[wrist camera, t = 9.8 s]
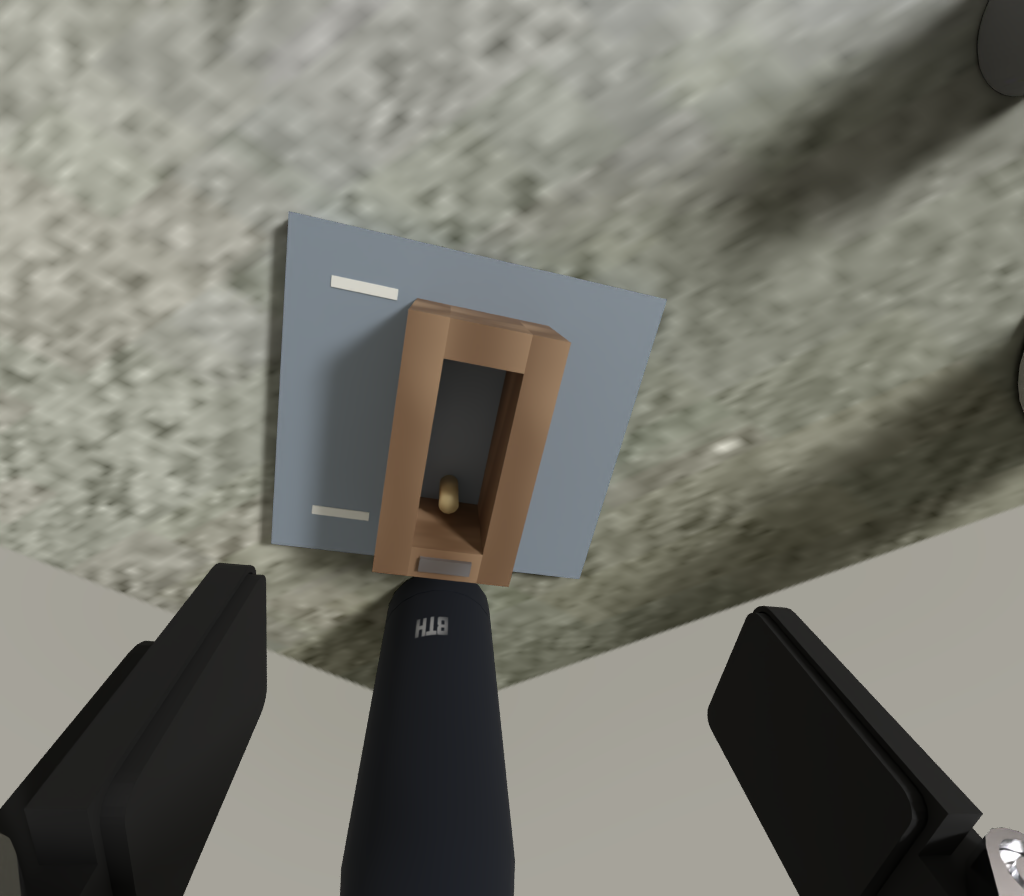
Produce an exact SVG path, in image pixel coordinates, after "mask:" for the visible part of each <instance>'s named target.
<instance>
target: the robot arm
mask: <svg viewBox="0 0 1024 896" xmlns="http://www.w3.org/2000/svg"><path fill="white" fill-rule="evenodd" d="M1018 389H1019V399H1020V403H1021V405H1022V408H1023V411H1024V352H1023V355H1022V359H1021V363H1020V368H1019V377H1018ZM266 653H267V650H266V578H265V576H264V575H256V570H255V567H254V566H251V565H239V564H226V563H218V564H216V565H215V566H214V567H213V568H212V569H211V570H210V571H209V573H208V574H207V575H206V576H205V578H204V579H203V580H202V582H201V583H200V584H199V585H198V587H197V588H196V589H195V591H194V592H193V593H192V594H191V596H190V597H189V598H188V600H187V601H186V602H185V603H184V605H183V606H182V607H181V608H180V610H179V611H178V612H177V614H176V615H175V616H174V617H173V619H172V620H171V621H170V623H169V624H168V625H167V626H166V628H165V629H164V630H163V632H162V633H161V634H160V635H159V637H158V638H157V639H156V641H143V642H141V643H139V644H137V645H136V646H135V647H134V648H133V649H132V650H131V651H130V652H129V653H128V654H127V656H126V657H125V658H124V659H123V660H122V662H121V663H120V664H119V665H118V667H117V668H116V669H115V670H114V671H113V673H112V674H111V675H110V676H109V678H108V679H107V680H106V681H105V682H104V683H103V685H102V686H101V687H100V688H99V690H98V691H97V692H96V693H95V694H94V696H93V697H92V698H91V699H90V701H89V702H88V703H87V704H86V705H85V707H84V708H83V709H82V710H81V711H80V713H79V714H78V715H77V716H76V718H75V719H74V720H73V721H72V722H71V724H70V725H69V726H68V727H67V728H66V730H65V731H64V732H63V733H62V735H61V736H60V737H59V738H58V739H57V741H56V742H55V743H54V744H53V745H52V747H51V748H50V749H49V750H48V752H47V753H46V754H45V755H44V757H43V758H42V759H41V760H40V761H39V762H38V764H37V765H36V766H35V767H34V769H33V770H32V771H31V772H30V773H29V775H28V776H27V777H26V778H25V780H24V781H23V782H22V783H21V784H20V786H19V787H18V788H17V789H16V790H15V792H14V793H13V794H12V795H11V797H10V798H9V799H8V800H7V801H6V802H5V804H4V805H3V806H2V807H1V809H0V896H183V894H184V892H185V890H186V887H187V885H188V883H189V880H190V878H191V876H192V873H193V871H194V869H195V866H196V864H197V862H198V859H199V857H200V855H201V852H202V850H203V848H204V845H205V843H206V841H207V838H208V836H209V834H210V831H211V829H212V827H213V824H214V822H215V820H216V817H217V815H218V812H219V810H220V808H221V805H222V803H223V801H224V799H225V796H226V794H227V791H228V789H229V787H230V784H231V782H232V780H233V777H234V775H235V773H236V770H237V768H238V766H239V764H240V761H241V759H242V757H243V754H244V752H245V750H246V747H247V745H248V743H249V740H250V738H251V736H252V733H253V731H254V729H255V726H256V724H257V722H258V719H259V717H260V715H261V712H262V709H263V706H264V702H265V698H266V692H267V667H266V666H267V658H266V657H267V655H266ZM708 722H709V725H710V728H711V730H712V732H713V734H714V736H715V738H716V739H717V741H718V743H719V745H720V747H721V749H722V751H723V753H724V755H725V756H726V758H727V760H728V762H729V764H730V766H731V768H732V770H733V771H734V773H735V775H736V777H737V779H738V781H739V783H740V784H741V787H742V788H743V790H744V792H745V794H746V796H747V798H748V800H749V801H750V803H751V805H752V807H753V809H754V811H755V813H756V815H757V817H758V818H759V820H760V822H761V824H762V826H763V827H764V830H765V832H766V833H767V835H768V837H769V839H770V841H771V843H772V845H773V847H774V848H775V850H776V852H777V854H778V856H779V858H780V860H781V861H782V864H783V865H784V867H785V869H786V871H787V873H788V875H789V877H790V878H791V880H792V882H793V884H794V886H795V888H796V890H797V892H798V894H799V896H1024V834H1023V833H1021V832H1019V831H1015V830H1012V829H1007V828H1003V827H1001V828H992V829H991V830H990V831H989V832H988V833H987V834H986V835H985V837H984V838H983V839H982V838H981V837H980V836H979V835H978V834H977V833H976V831H975V830H974V829H973V828H972V827H973V826H974V825H975V823H976V822H977V821H978V820H979V818H980V817H981V815H982V814H983V813H982V812H981V811H980V810H979V809H978V808H977V807H976V806H975V805H974V804H973V803H972V802H971V801H970V799H969V798H968V797H967V796H966V795H965V794H964V793H963V792H962V791H961V790H960V789H959V788H958V787H957V786H956V785H955V784H954V782H953V781H952V780H951V779H950V778H949V777H948V776H947V775H946V774H945V773H944V772H943V771H942V770H941V768H940V767H938V765H937V764H935V762H934V761H933V760H932V759H931V758H930V757H929V756H928V755H927V754H926V752H925V751H924V750H923V749H922V748H921V747H920V746H919V745H918V744H917V743H916V742H915V741H914V740H913V739H912V737H911V736H909V734H908V733H907V732H906V731H905V730H904V729H903V728H902V727H901V726H900V725H899V724H898V723H897V721H896V720H895V719H894V718H893V717H892V716H891V715H890V714H889V713H888V712H887V711H886V710H885V709H884V708H883V707H882V706H881V705H880V703H879V702H878V701H877V700H876V699H875V698H874V697H873V696H872V695H871V694H870V693H869V692H868V691H867V689H866V688H865V687H864V686H863V685H862V684H861V683H860V682H859V681H858V680H857V679H856V678H855V677H854V676H853V674H852V673H851V672H850V671H849V670H848V669H847V668H846V667H845V666H844V665H843V664H842V663H841V662H840V661H839V660H838V658H837V657H836V656H835V655H834V654H833V653H832V652H831V651H830V650H829V649H828V648H827V647H826V646H825V645H824V644H823V642H821V640H820V639H819V638H818V637H817V636H816V635H815V634H814V633H813V632H812V631H811V630H810V629H809V628H808V626H807V625H806V624H805V623H804V622H803V621H802V620H801V619H800V618H799V617H798V616H797V615H796V614H795V613H794V612H793V611H792V610H791V609H788V608H782V607H769V606H759V607H757V608H756V609H755V610H754V611H753V613H750V614H749V615H748V616H747V618H746V620H745V622H744V624H743V627H742V629H741V631H740V634H739V636H738V639H737V641H736V643H735V646H734V648H733V650H732V653H731V655H730V657H729V660H728V662H727V664H726V667H725V669H724V672H723V674H722V676H721V679H720V681H719V683H718V686H717V688H716V690H715V693H714V695H713V698H712V700H711V703H710V705H709V707H708Z"/></svg>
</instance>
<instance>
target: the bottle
mask: <svg viewBox="0 0 1024 896" xmlns="http://www.w3.org/2000/svg"><path fill="white" fill-rule="evenodd" d="M977 46H978V57H979V66H980V69H981V72H982V74H983V76H984V78H985V80H986V81H987V83H988V84H989V85H990V86H991V87H992V88H993V89H994V90H996V91H998V92H1000V93H1002V94H1004V95H1008V96H1023V95H1024V0H989V2H988V4H987V7H986V9H985V12H984V14H983V18H982V22H981V26H980V30H979V37H978V45H977Z"/></svg>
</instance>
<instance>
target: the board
mask: <svg viewBox="0 0 1024 896" xmlns="http://www.w3.org/2000/svg"><path fill="white" fill-rule="evenodd" d="M417 298H420V299H424V300H429V301H434V302H438V303H443V304H448V305H453V306H457V307H462V308H467V309H471V310H476V311H481V312H486V313H490V314H495V315H500V316H504V317H509V318H514V319H519V320H523V321H528V322H533V323H537V324H542V325H547V326H549V327H551V328H552V329H553V330H555V331H556V332H557V333H559V334H560V335H561V336H563V337H564V338H565V339H567V340H568V341H569V342H571V346H570V349H569V353H568V357H567V361H566V365H565V369H564V373H563V377H562V381H561V385H560V388H559V392H558V396H557V400H556V404H555V408H554V412H553V416H552V420H551V424H550V427H549V431H548V435H547V439H546V443H545V447H544V451H543V455H542V459H541V463H540V466H539V470H538V474H537V478H536V482H535V486H534V490H533V494H532V498H531V502H530V505H529V509H528V513H527V517H526V521H525V525H524V529H523V533H522V537H521V541H520V544H519V548H518V552H517V556H516V560H515V564H514V568H513V572H522V573H531V574H539V575H548V576H557V577H566V578H574V579H579V578H580V575H581V572H582V569H583V565H584V562H585V559H586V556H587V553H588V549H589V546H590V543H591V540H592V537H593V534H594V530H595V527H596V524H597V521H598V518H599V514H600V511H601V508H602V505H603V502H604V498H605V495H606V492H607V489H608V486H609V483H610V479H611V476H612V473H613V470H614V467H615V463H616V460H617V457H618V454H619V451H620V448H621V444H622V441H623V438H624V435H625V432H626V428H627V425H628V422H629V419H630V416H631V412H632V409H633V406H634V403H635V400H636V397H637V393H638V390H639V387H640V384H641V381H642V377H643V374H644V371H645V368H646V365H647V362H648V358H649V355H650V352H651V349H652V346H653V342H654V339H655V336H656V333H657V330H658V327H659V323H660V320H661V317H662V314H663V311H664V307H665V304H666V301H667V299H663V298H659V297H655V296H650V295H646V294H642V293H638V292H633V291H629V290H625V289H620V288H616V287H612V286H608V285H603V284H599V283H595V282H590V281H586V280H582V279H578V278H573V277H569V276H565V275H560V274H556V273H552V272H548V271H543V270H539V269H535V268H530V267H526V266H522V265H518V264H513V263H509V262H505V261H500V260H496V259H492V258H488V257H483V256H479V255H475V254H470V253H466V252H462V251H458V250H453V249H449V248H445V247H440V246H436V245H432V244H428V243H423V242H419V241H415V240H410V239H406V238H402V237H398V236H393V235H389V234H385V233H380V232H376V231H372V230H368V229H363V228H359V227H355V226H350V225H346V224H342V223H338V222H333V221H329V220H325V219H320V218H316V217H312V216H308V215H303V214H299V213H295V212H290V211H289V217H288V236H287V255H286V274H285V293H284V312H283V331H282V350H281V369H280V388H279V407H278V426H277V445H276V463H275V482H274V501H273V520H272V539H271V544H278V545H287V546H296V547H304V548H313V549H322V550H331V551H339V552H348V553H357V554H365V555H374V554H375V547H376V540H377V533H378V525H379V518H380V511H381V504H382V497H383V489H384V482H385V475H386V468H387V460H388V453H389V446H390V439H391V432H392V424H393V417H394V410H395V403H396V396H397V388H398V381H399V374H400V367H401V360H402V352H403V345H404V338H405V331H406V324H407V316H408V309H409V308H410V307H411V305H412V304H413V303H414V301H415V300H416V299H417ZM505 375H506V370H501V369H496V368H491V367H485V366H480V365H475V364H470V363H465V362H459V361H454V360H449V359H443V365H442V371H441V377H440V383H439V389H438V395H437V401H436V407H435V412H434V418H433V424H432V430H431V436H430V442H429V448H428V454H427V460H426V466H425V472H424V478H423V484H422V490H421V495H420V497H426V498H433V499H439V508H440V510H441V511H442V512H444V513H447V514H450V513H454V512H455V511H456V510H457V509H458V506H459V502H462V503H469V504H476V505H478V500H479V496H480V491H481V486H482V482H483V477H484V472H485V468H486V463H487V458H488V454H489V449H490V444H491V440H492V435H493V431H494V426H495V421H496V417H497V412H498V407H499V403H500V398H501V393H502V389H503V384H504V379H505Z"/></svg>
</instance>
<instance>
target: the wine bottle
mask: <svg viewBox="0 0 1024 896" xmlns="http://www.w3.org/2000/svg"><path fill="white" fill-rule="evenodd" d="M514 871H515V858H514V848H513V838H512V828H511V819H510V809H509V799H508V791H507V780H506V770H505V760H504V750H503V740H502V731H501V721H500V712H499V701H498V692H497V682H496V672H495V662H494V652H493V643H492V633H491V623H490V613H489V607H488V602H487V598H486V595H485V594H484V593H483V591H482V590H481V588H480V587H479V586H478V585H477V584H476V583H469V582H460V581H451V580H441V579H432V578H423V577H414V578H412V579H410V580H408V581H406V582H405V583H404V584H403V585H402V586H401V587H400V588H399V589H398V590H397V591H396V592H395V593H394V595H393V597H392V600H391V602H390V604H389V608H388V613H387V619H386V624H385V630H384V635H383V641H382V646H381V652H380V657H379V663H378V668H377V674H376V679H375V685H374V690H373V696H372V701H371V707H370V712H369V718H368V723H367V729H366V734H365V740H364V746H363V751H362V757H361V762H360V768H359V773H358V779H357V785H356V790H355V796H354V801H353V806H352V812H351V818H350V823H349V828H348V834H347V839H346V845H345V851H344V856H343V861H342V867H341V887H340V896H514Z"/></svg>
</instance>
